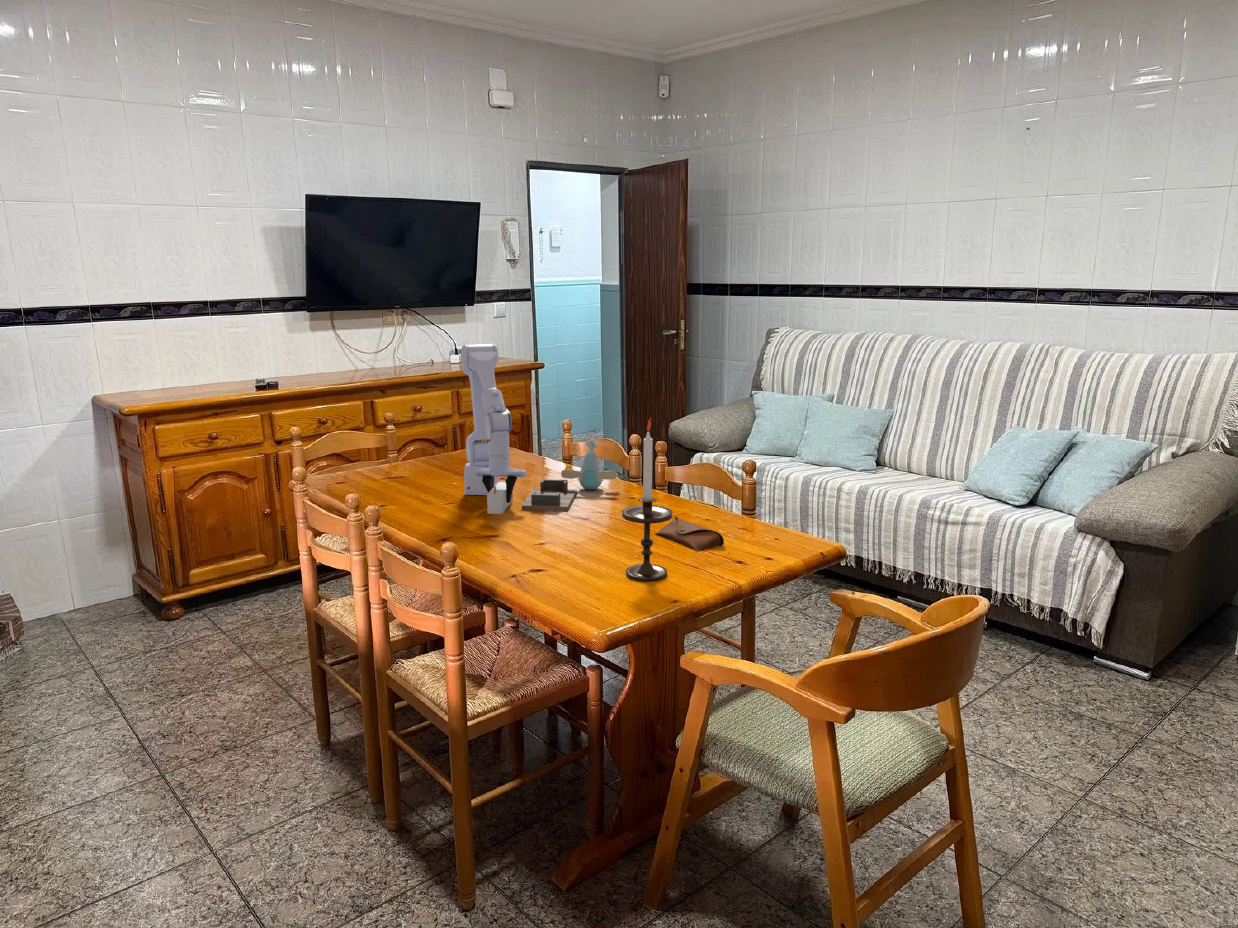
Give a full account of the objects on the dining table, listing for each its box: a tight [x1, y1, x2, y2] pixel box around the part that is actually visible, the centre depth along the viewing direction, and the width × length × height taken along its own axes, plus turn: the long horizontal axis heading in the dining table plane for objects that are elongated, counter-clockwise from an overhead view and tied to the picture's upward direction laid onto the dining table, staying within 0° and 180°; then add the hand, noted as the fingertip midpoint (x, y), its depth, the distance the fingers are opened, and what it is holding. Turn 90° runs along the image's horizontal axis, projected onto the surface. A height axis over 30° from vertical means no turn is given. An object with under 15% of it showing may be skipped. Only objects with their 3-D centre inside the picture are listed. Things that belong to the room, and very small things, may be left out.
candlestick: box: [621, 417, 673, 583], centre depth 185 cm, size 11×11×35 cm
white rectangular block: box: [486, 481, 514, 515], centre depth 241 cm, size 14×4×8 cm, turn 175°
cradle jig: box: [521, 478, 578, 512], centre depth 247 cm, size 19×13×4 cm
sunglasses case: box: [653, 516, 725, 552], centre depth 214 cm, size 18×7×7 cm
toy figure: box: [560, 438, 619, 491], centre depth 260 cm, size 17×10×15 cm, turn 84°
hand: (500, 501), depth 242 cm, fingers closed on white rectangular block, 4 cm apart
